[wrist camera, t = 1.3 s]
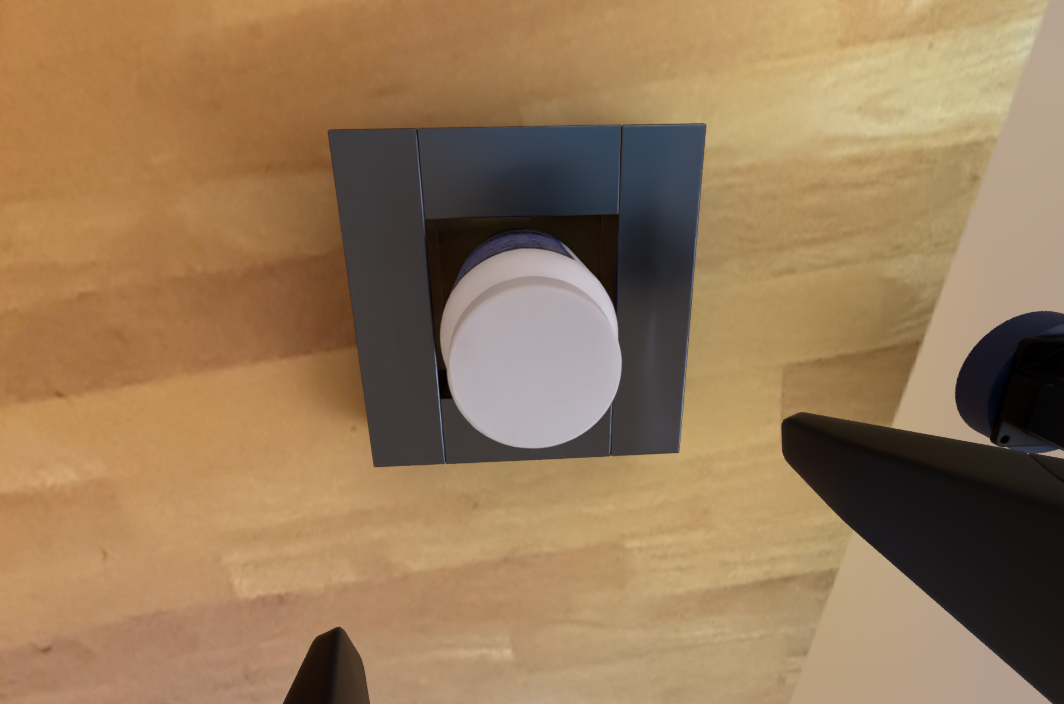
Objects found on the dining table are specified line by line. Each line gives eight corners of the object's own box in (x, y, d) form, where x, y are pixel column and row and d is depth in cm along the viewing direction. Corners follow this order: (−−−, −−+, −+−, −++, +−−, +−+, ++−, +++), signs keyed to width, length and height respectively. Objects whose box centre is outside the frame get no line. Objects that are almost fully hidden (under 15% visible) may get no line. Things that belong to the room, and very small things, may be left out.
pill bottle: (433, 311, 23) (384, 404, 13) (500, 199, 21) (499, 215, 12) (540, 374, 24) (564, 499, 15) (610, 273, 23) (686, 338, 13)
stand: (674, 132, 21) (707, 122, 18) (656, 417, 25) (679, 453, 22) (355, 137, 20) (326, 129, 17) (390, 429, 24) (373, 467, 21)
